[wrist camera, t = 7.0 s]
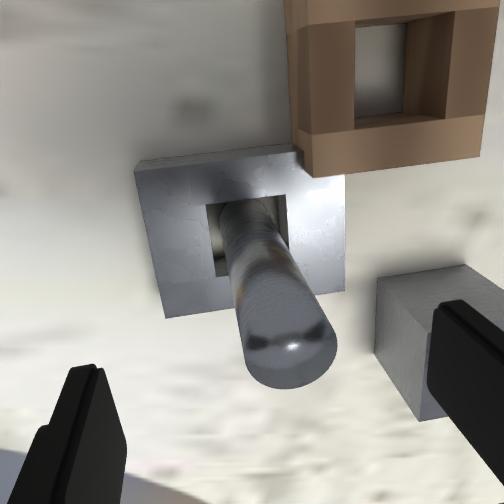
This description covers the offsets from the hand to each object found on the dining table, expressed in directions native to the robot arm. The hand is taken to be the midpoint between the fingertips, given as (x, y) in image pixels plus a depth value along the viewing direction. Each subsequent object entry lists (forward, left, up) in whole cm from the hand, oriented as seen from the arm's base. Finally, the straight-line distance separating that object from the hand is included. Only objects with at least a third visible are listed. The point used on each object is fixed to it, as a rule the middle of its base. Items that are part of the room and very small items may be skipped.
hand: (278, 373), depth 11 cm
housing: (-12, +8, -13) cm, 19 cm away
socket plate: (-1, 0, -13) cm, 13 cm away
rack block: (-8, -7, -13) cm, 16 cm away
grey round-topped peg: (-1, 0, -13) cm, 13 cm away
